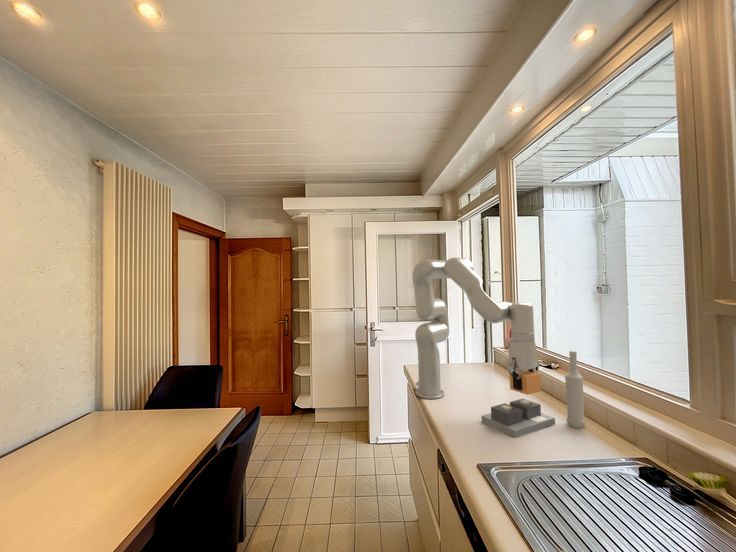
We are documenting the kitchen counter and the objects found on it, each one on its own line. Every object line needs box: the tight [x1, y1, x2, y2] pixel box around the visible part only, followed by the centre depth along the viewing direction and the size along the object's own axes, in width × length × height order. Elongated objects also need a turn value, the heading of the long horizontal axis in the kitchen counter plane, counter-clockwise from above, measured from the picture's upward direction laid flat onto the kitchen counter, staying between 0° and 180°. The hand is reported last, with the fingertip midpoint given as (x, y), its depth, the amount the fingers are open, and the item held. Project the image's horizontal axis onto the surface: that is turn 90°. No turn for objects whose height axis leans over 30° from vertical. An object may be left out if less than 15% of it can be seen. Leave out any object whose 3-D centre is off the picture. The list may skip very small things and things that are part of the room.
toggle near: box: [501, 404, 512, 411], centre depth 112 cm, size 2×2×4 cm
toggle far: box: [520, 399, 530, 405], centre depth 116 cm, size 2×2×4 cm
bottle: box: [564, 350, 586, 429], centre depth 111 cm, size 5×5×25 cm
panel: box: [481, 398, 556, 438], centre depth 114 cm, size 14×20×6 cm
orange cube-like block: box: [508, 370, 542, 396], centre depth 116 cm, size 7×7×6 cm
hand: (525, 387), depth 116 cm, fingers closed on orange cube-like block, 7 cm apart
